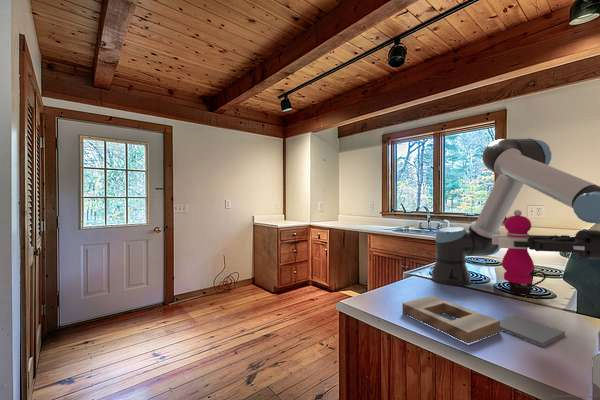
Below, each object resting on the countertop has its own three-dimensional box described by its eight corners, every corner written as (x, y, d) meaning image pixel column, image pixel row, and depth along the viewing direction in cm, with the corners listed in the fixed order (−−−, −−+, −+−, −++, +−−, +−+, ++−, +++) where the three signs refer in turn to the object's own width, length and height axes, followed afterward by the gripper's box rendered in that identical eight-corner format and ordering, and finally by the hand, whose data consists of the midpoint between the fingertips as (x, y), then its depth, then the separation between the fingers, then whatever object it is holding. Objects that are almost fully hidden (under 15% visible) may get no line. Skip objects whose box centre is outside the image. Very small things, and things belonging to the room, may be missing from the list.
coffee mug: (504, 292, 110) (504, 267, 110) (508, 287, 116) (508, 262, 116) (543, 300, 102) (543, 272, 101) (546, 294, 108) (546, 268, 107)
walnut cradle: (402, 313, 92) (402, 303, 92) (431, 305, 99) (431, 295, 99) (468, 345, 73) (468, 332, 73) (499, 333, 79) (499, 320, 79)
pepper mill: (500, 275, 85) (500, 209, 84) (531, 279, 81) (531, 209, 81) (502, 282, 79) (502, 210, 78) (536, 286, 75) (536, 211, 74)
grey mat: (492, 326, 82) (492, 323, 82) (515, 318, 88) (515, 315, 88) (542, 346, 72) (542, 342, 72) (565, 335, 77) (565, 331, 77)
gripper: (626, 267, 65) (506, 261, 73) (579, 252, 82) (486, 248, 90) (626, 235, 65) (506, 232, 73) (579, 226, 82) (486, 224, 90)
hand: (495, 241), depth 81 cm, fingers closed on pepper mill, 5 cm apart
